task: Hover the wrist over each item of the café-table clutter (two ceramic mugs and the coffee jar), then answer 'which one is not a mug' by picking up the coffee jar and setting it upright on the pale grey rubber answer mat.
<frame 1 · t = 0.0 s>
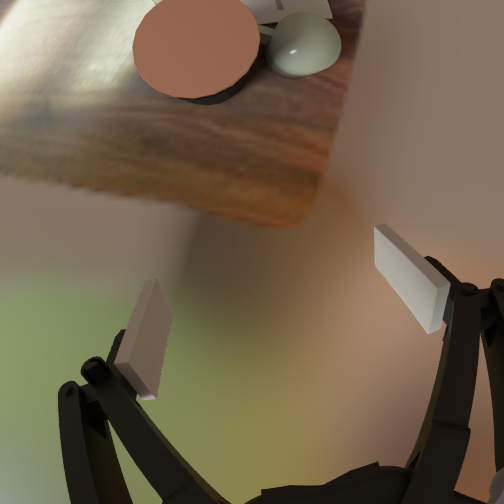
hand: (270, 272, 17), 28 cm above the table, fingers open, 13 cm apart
coffee jar: (209, 70, 34), on the table
mug sage: (292, 54, 34), on the table
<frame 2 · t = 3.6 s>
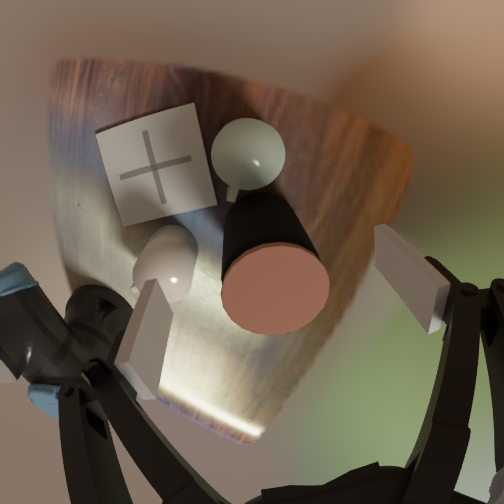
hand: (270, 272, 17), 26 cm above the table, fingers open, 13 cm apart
answer mat: (155, 166, 38), on the table
coffee jar: (260, 223, 44), on the table
mug sage: (245, 145, 38), on the table
mug cream: (173, 248, 44), on the table
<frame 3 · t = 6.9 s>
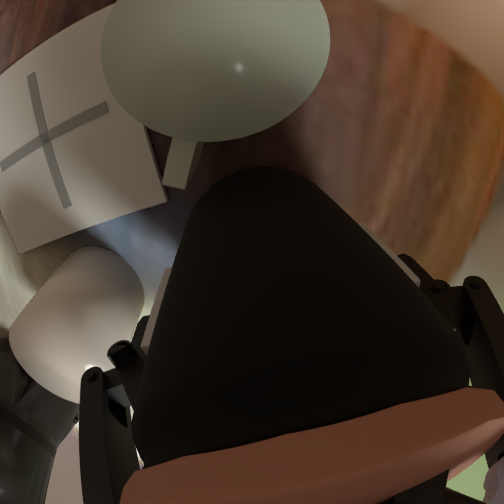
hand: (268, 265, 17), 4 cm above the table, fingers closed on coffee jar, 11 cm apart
answer mat: (49, 137, 16), on the table
coffee jar: (261, 236, 21), on the table, touching gripper
mug sage: (220, 69, 15), on the table
mug cream: (100, 289, 22), on the table
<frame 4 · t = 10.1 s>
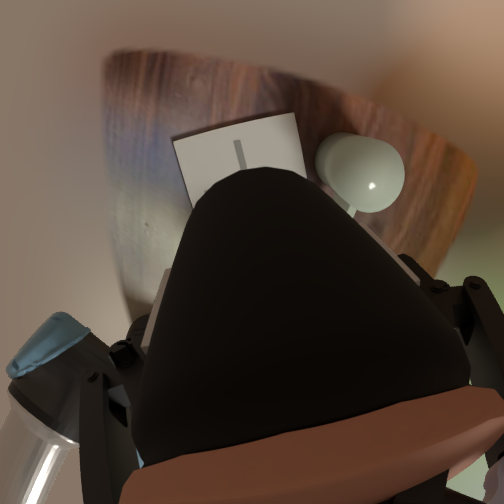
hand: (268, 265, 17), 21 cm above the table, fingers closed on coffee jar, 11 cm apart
answer mat: (247, 181, 36), on the table
coffee jar: (261, 236, 21), point 17 cm above the table, touching gripper
mug sage: (343, 161, 36), on the table
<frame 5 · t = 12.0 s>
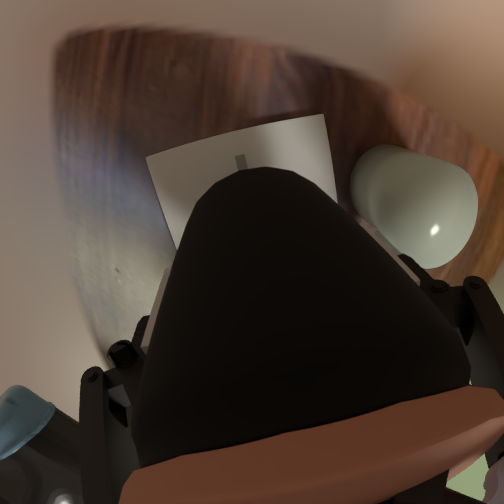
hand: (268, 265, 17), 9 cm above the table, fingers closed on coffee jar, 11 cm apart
answer mat: (254, 214, 25), on the table
coffee jar: (261, 236, 21), point 5 cm above the table, touching gripper
mug sage: (386, 185, 25), on the table
when the fingers open (6 cm above the table, at t = 13.4 s): coffee jar drops 1 cm, resting on answer mat.
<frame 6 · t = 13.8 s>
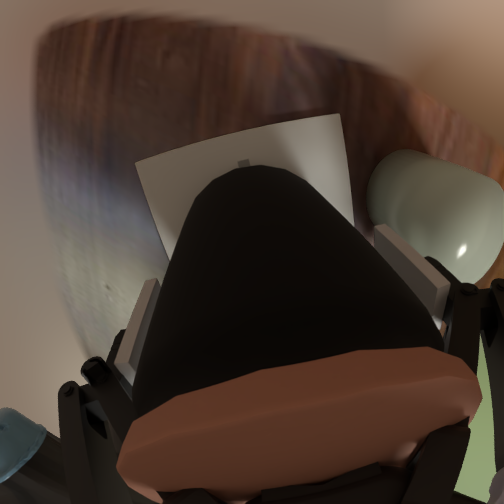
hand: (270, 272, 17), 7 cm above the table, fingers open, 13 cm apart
answer mat: (259, 227, 23), on the table
coffee jar: (256, 231, 22), point 1 cm above the table, touching answer mat
mug sage: (405, 194, 22), on the table
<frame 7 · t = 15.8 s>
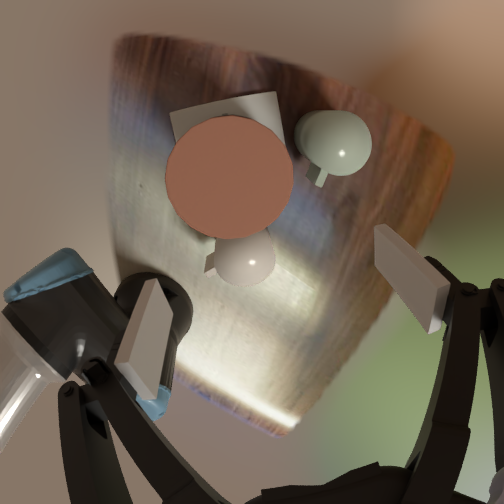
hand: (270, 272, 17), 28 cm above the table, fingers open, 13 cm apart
answer mat: (232, 150, 40), on the table
coffee jar: (230, 151, 39), point 1 cm above the table, touching answer mat
mug sage: (320, 136, 39), on the table
mug cream: (242, 232, 46), on the table
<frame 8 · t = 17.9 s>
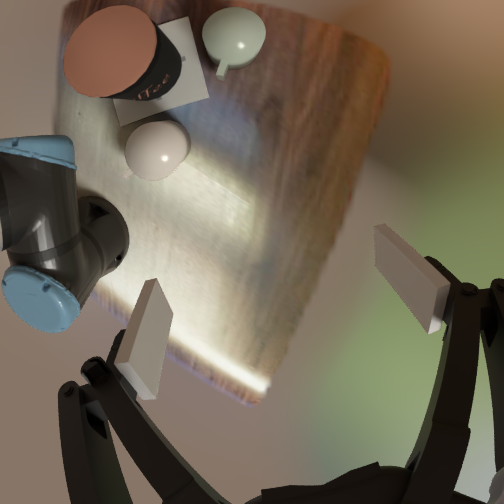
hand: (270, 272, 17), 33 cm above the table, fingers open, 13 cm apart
answer mat: (152, 69, 37), on the table
coffee jar: (150, 70, 36), point 1 cm above the table, touching answer mat
mug sage: (232, 47, 36), on the table
mug cream: (166, 144, 43), on the table
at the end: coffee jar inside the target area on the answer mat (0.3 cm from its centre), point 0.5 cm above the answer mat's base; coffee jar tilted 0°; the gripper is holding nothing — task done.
